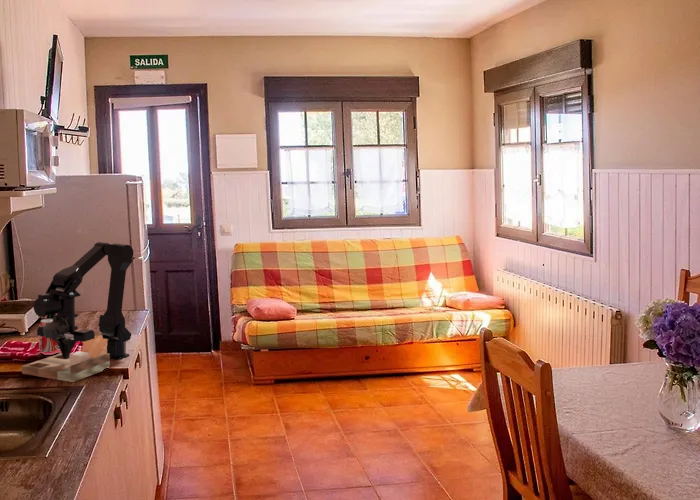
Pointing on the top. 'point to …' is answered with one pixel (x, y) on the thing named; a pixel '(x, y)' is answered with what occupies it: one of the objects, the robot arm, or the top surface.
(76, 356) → the block
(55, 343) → the soda can
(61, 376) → the board
